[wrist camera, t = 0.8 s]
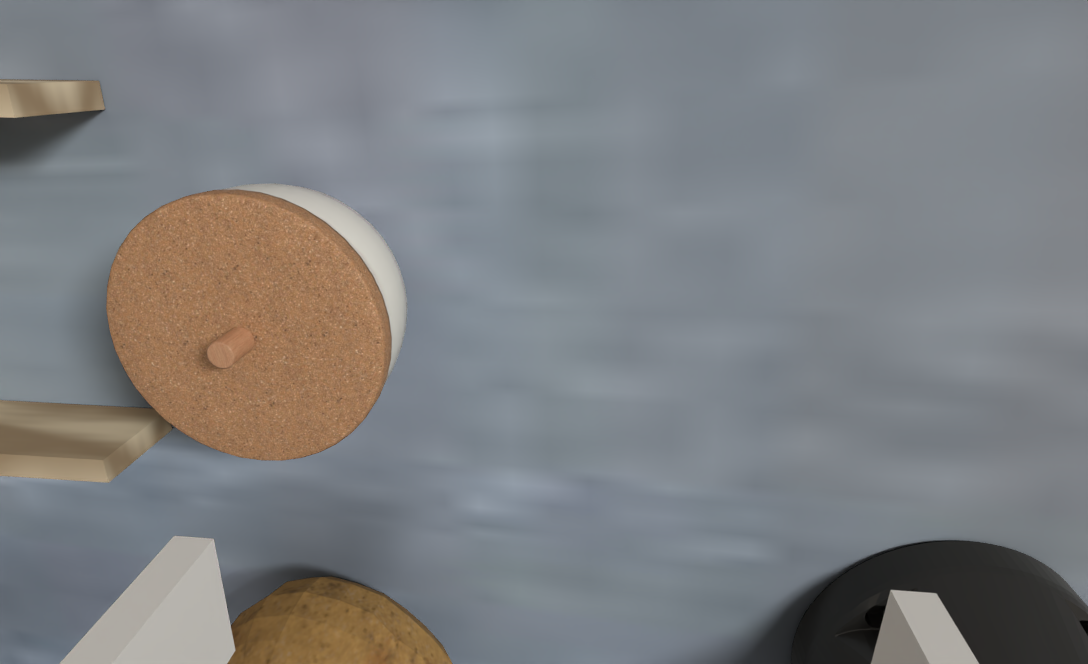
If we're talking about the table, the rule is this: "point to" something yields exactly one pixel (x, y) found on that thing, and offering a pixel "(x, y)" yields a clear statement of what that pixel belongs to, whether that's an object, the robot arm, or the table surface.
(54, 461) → the bay
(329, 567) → the table surface
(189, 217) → the lidded jar
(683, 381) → the table surface
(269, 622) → the potato
